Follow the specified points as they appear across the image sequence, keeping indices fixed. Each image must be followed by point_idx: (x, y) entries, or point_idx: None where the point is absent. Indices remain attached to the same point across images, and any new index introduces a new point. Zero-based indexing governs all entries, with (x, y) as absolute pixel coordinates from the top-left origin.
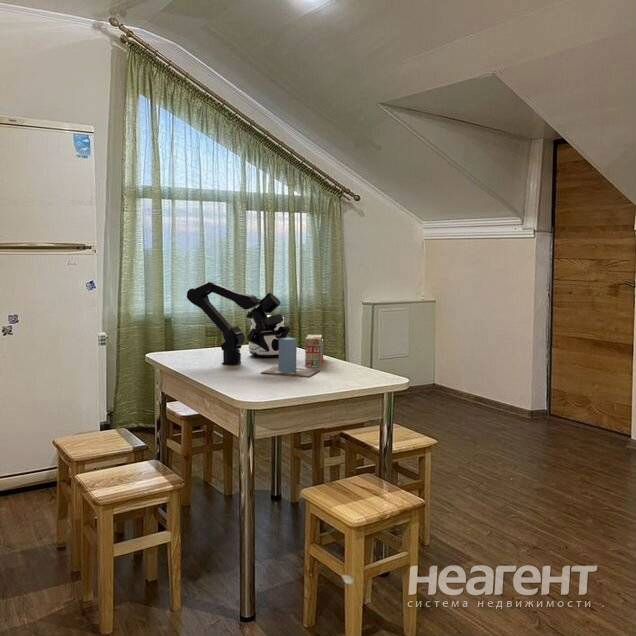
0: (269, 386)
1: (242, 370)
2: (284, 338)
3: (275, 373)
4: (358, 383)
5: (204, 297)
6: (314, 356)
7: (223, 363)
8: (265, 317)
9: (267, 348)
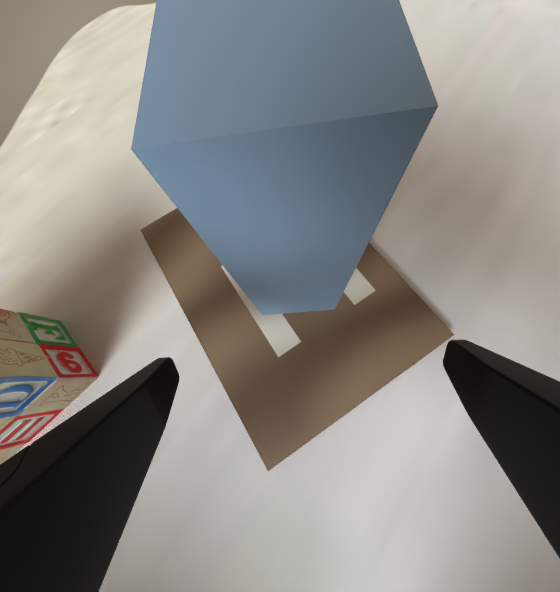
0: (528, 88)
1: (529, 533)
2: (312, 67)
3: (386, 262)
4: None
5: None
6: (2, 329)
7: None
8: None
9: (495, 357)
